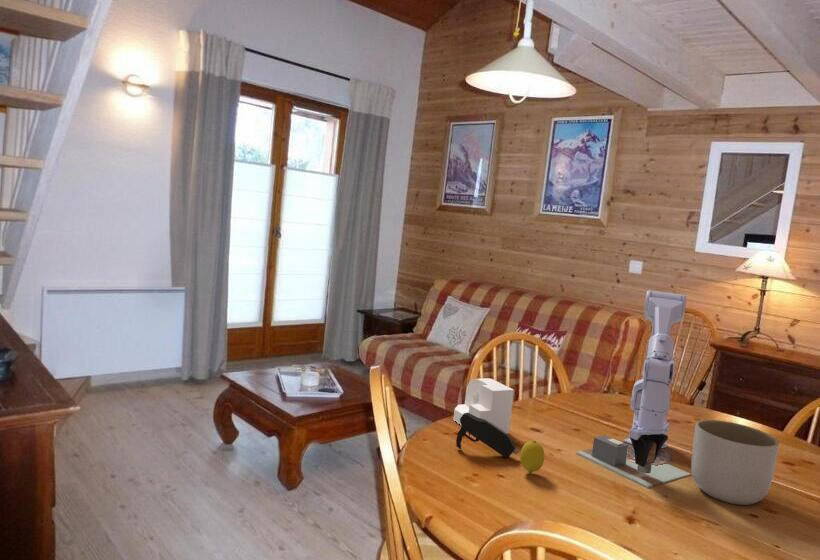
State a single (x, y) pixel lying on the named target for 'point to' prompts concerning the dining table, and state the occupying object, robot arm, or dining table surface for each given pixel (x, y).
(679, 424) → the dining table surface
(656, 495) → the dining table surface
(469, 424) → the gun
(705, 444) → the planter
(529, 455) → the lemon
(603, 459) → the block
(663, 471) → the panel
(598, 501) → the dining table surface
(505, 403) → the tape dispenser
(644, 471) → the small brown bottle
